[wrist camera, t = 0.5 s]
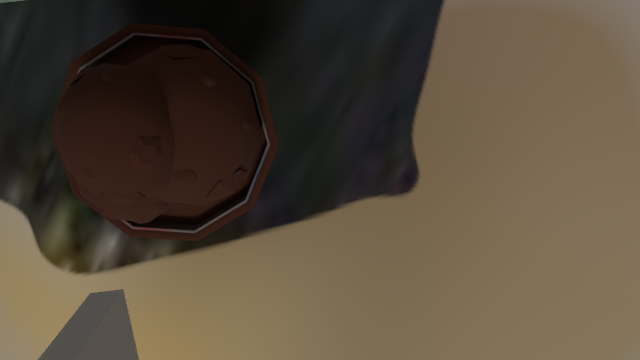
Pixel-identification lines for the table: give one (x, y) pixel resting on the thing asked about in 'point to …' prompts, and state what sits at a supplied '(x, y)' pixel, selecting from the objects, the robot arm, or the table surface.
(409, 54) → the table surface
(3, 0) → the putting mat
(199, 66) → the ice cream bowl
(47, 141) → the table surface
